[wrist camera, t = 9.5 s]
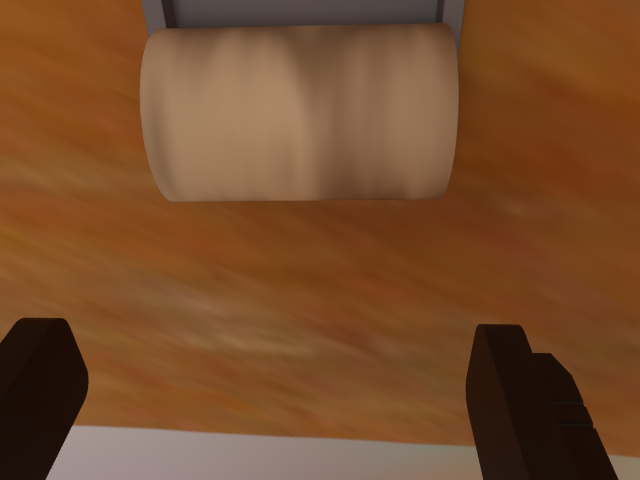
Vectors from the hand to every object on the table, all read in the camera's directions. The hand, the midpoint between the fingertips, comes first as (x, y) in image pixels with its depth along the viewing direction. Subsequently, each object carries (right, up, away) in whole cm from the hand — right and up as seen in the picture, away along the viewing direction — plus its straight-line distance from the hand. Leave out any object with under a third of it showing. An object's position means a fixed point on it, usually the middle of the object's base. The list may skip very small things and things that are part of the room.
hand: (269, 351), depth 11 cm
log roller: (0, +10, +15) cm, 18 cm away
